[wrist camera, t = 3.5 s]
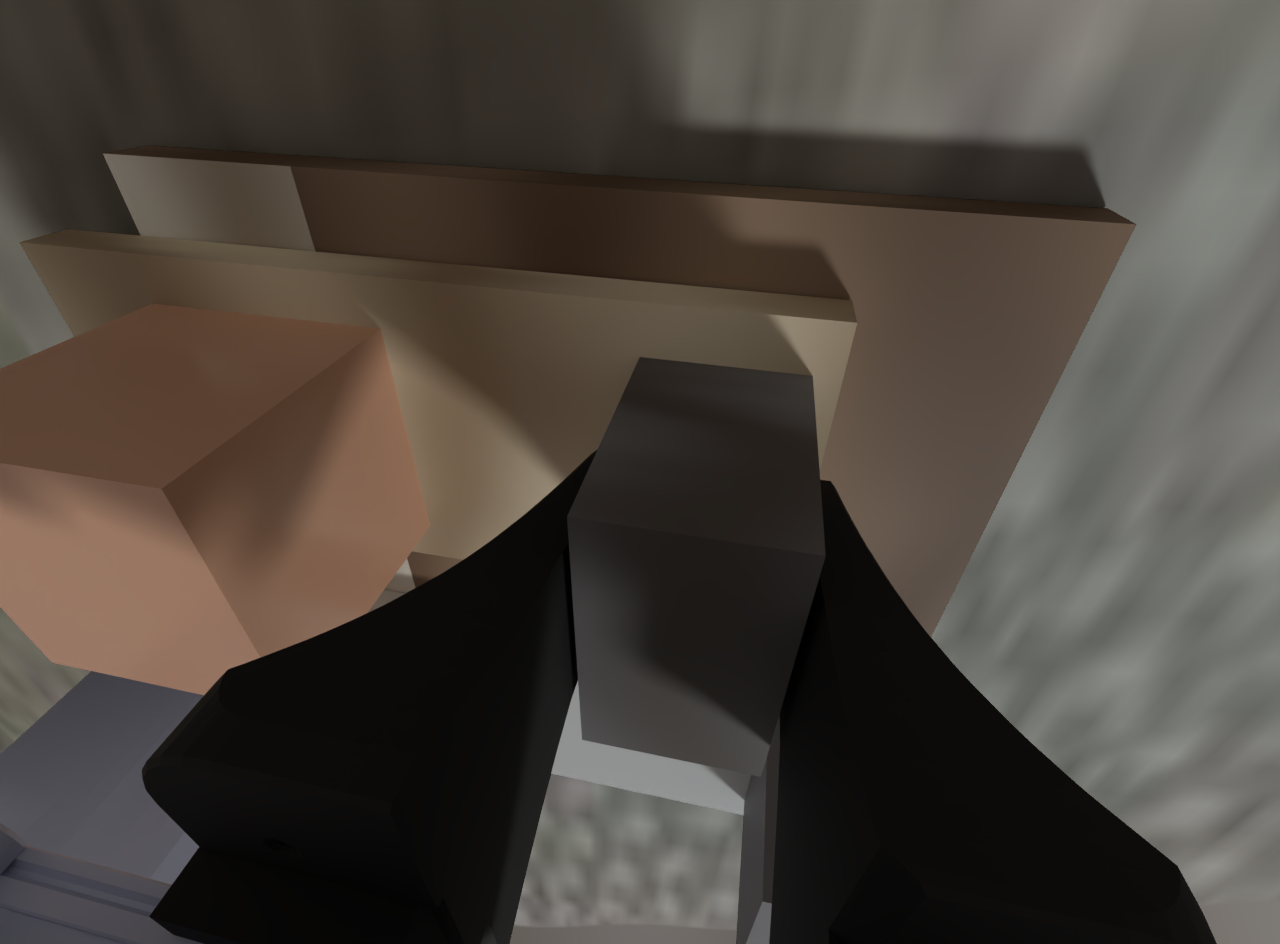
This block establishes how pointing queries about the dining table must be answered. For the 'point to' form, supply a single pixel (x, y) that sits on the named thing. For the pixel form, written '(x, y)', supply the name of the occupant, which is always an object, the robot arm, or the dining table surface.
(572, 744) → the grey strip
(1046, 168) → the dining table surface
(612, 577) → the tan shallow tray
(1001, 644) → the dining table surface
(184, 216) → the lane board
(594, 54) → the dining table surface
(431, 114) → the dining table surface
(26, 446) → the terracotta cube
